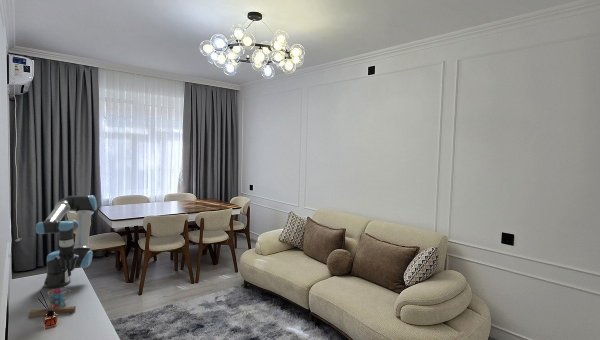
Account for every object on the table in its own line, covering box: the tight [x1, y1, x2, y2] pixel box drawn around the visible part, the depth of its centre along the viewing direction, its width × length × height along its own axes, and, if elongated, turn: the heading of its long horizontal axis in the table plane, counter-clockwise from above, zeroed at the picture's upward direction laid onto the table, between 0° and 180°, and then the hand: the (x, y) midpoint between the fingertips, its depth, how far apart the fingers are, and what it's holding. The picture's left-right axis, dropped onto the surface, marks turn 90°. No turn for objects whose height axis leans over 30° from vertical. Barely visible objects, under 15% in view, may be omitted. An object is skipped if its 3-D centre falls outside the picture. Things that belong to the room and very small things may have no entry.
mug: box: [47, 287, 72, 308], centre depth 199 cm, size 12×9×11 cm
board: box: [28, 305, 77, 318], centre depth 191 cm, size 3×22×3 cm, turn 106°
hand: (67, 281), depth 210 cm, fingers closed
